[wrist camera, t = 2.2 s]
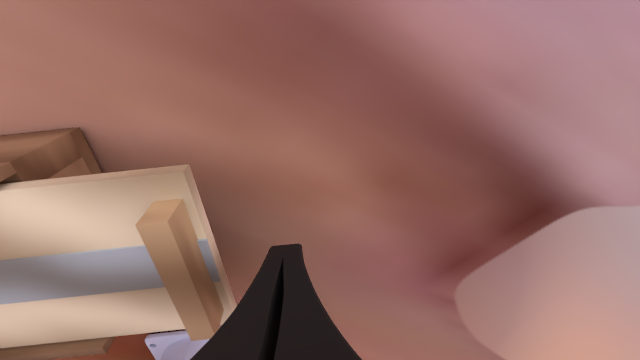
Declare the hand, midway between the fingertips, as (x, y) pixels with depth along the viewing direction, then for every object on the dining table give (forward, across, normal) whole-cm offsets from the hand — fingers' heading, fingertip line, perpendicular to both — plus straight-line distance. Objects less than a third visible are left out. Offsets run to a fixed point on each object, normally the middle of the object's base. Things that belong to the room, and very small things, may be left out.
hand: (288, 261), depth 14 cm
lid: (+1, +11, 0) cm, 12 cm away
